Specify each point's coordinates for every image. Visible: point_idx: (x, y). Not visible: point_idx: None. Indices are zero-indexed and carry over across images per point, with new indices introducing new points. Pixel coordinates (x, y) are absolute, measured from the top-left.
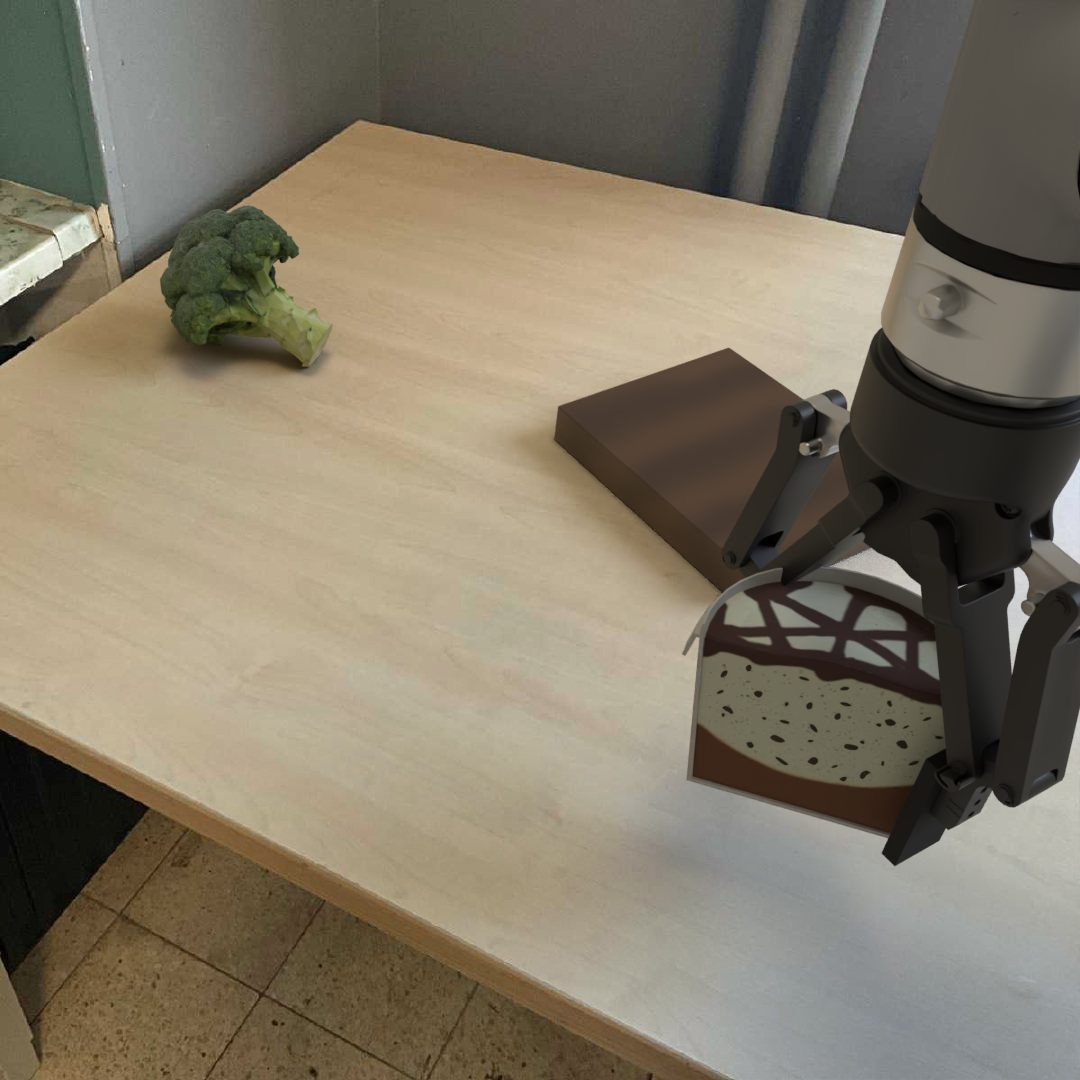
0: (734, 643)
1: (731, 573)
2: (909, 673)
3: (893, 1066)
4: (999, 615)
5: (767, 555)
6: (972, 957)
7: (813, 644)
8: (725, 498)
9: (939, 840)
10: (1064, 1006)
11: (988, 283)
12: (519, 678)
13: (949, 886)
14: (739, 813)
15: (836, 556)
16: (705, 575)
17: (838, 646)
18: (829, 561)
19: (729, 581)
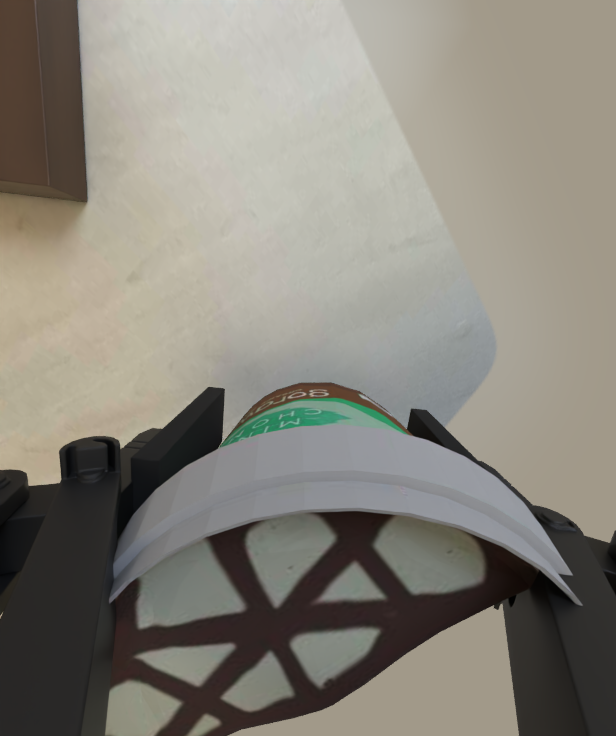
0: None
1: (44, 190)
2: (409, 615)
3: None
4: None
5: (25, 537)
6: (429, 338)
7: (262, 691)
8: None
9: (427, 411)
10: (486, 319)
11: None
12: (77, 422)
13: (390, 304)
14: (262, 378)
15: (101, 644)
16: (35, 195)
17: (292, 672)
18: (105, 618)
19: (53, 194)
